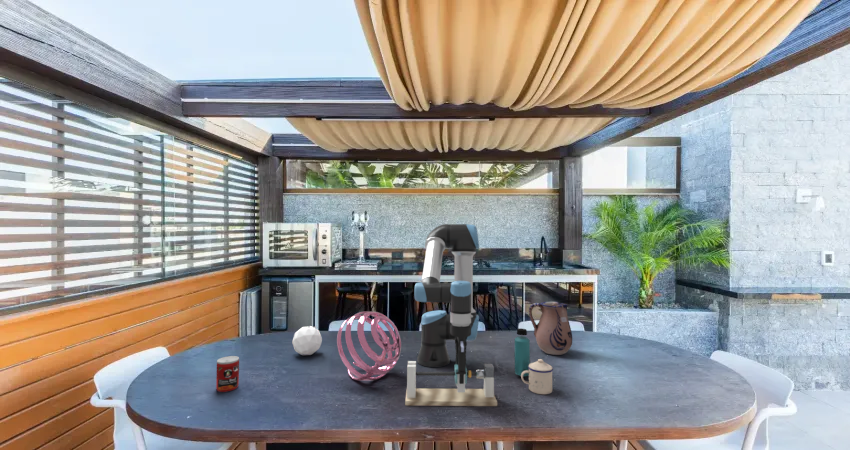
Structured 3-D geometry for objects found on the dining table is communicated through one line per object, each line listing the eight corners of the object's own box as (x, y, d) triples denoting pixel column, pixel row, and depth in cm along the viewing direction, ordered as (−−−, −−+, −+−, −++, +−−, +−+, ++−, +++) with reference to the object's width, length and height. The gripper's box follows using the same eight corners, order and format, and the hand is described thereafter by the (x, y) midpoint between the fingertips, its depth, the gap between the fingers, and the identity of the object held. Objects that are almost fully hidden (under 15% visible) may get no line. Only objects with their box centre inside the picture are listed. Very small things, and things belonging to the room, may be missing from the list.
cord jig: (405, 405, 131) (405, 369, 132) (406, 392, 142) (406, 358, 143) (497, 406, 132) (497, 369, 132) (491, 392, 143) (491, 359, 143)
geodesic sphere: (315, 335, 200) (302, 316, 193) (334, 339, 192) (320, 320, 185) (296, 358, 190) (281, 339, 183) (314, 364, 182) (299, 344, 175)
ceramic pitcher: (578, 358, 184) (577, 306, 185) (534, 358, 184) (534, 306, 185) (565, 347, 201) (565, 300, 202) (525, 347, 202) (525, 300, 202)
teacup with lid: (548, 385, 150) (548, 355, 151) (556, 395, 141) (556, 363, 141) (518, 385, 150) (518, 355, 151) (524, 394, 141) (524, 363, 141)
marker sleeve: (455, 383, 135) (455, 369, 135) (454, 378, 140) (454, 364, 140) (466, 383, 135) (466, 369, 135) (465, 378, 140) (465, 364, 140)
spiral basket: (316, 326, 163) (355, 295, 151) (366, 330, 183) (404, 304, 171) (325, 393, 148) (369, 364, 136) (378, 390, 167) (421, 365, 155)
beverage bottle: (530, 380, 155) (530, 331, 156) (514, 379, 157) (514, 330, 157) (529, 374, 162) (529, 327, 162) (513, 373, 163) (513, 326, 164)
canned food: (215, 393, 140) (216, 363, 140) (216, 386, 147) (217, 357, 147) (238, 390, 143) (239, 360, 144) (238, 382, 151) (239, 354, 151)
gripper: (474, 330, 129) (474, 399, 128) (468, 318, 147) (467, 379, 146) (452, 330, 129) (451, 399, 128) (448, 318, 147) (448, 379, 146)
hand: (460, 388), depth 137 cm, fingers closed on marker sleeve, 5 cm apart
